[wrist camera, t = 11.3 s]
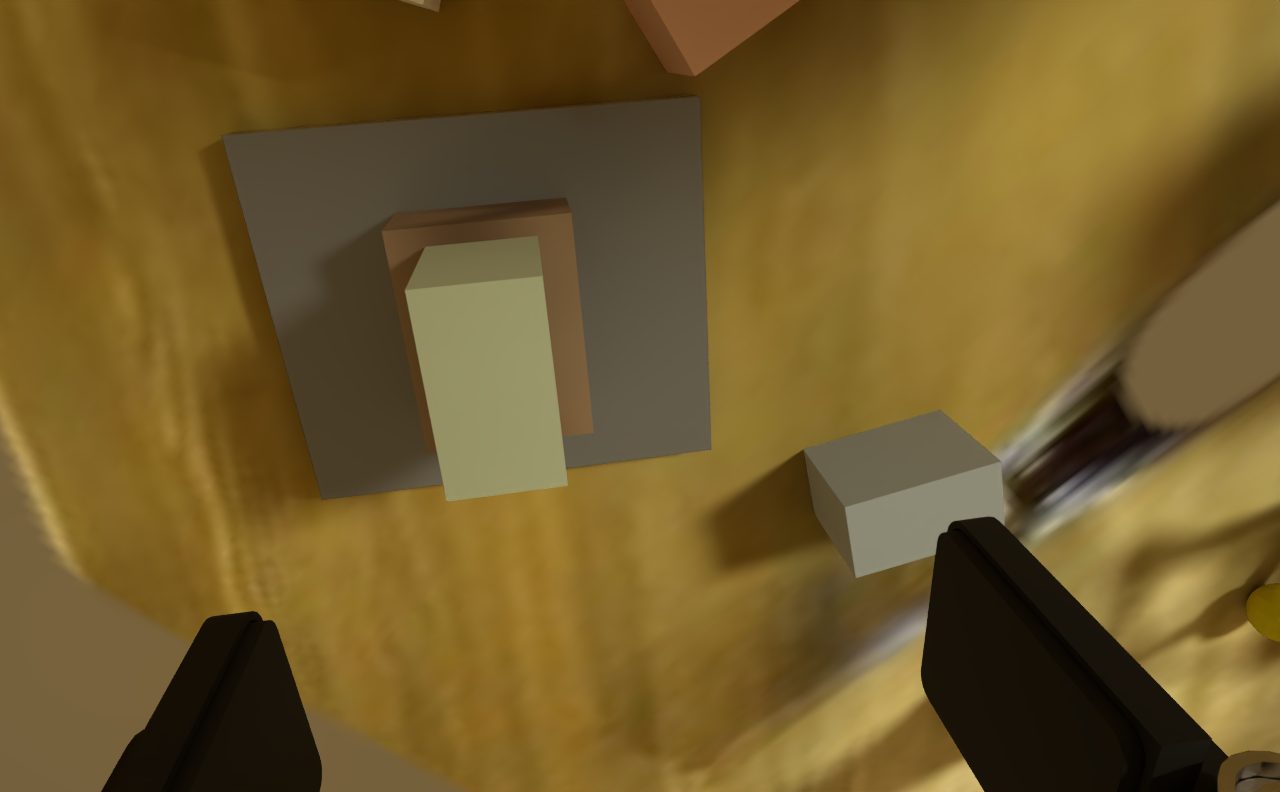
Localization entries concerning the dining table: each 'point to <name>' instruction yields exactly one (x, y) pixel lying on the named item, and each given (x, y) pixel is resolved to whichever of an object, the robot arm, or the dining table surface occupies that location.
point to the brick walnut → (559, 276)
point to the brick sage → (488, 366)
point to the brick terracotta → (700, 28)
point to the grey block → (901, 489)
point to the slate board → (470, 176)
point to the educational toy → (1265, 610)
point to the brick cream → (425, 4)
